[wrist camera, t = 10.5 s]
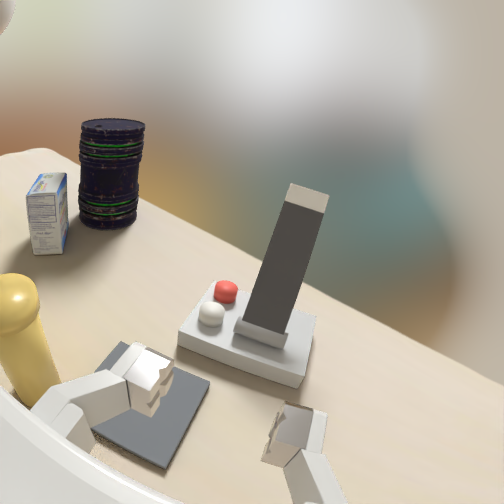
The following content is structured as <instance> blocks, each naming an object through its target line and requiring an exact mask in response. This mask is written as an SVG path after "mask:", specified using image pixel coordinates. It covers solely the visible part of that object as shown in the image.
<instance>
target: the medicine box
mask: <svg viewBox="0 0 504 504" xmlns="http://www.w3.org/2000/svg"><path fill="white" fill-rule="evenodd" d="M26 206H27V215H28V223H29V231H30V238H31V244H32V249H33V254H34V255H49V254H62V253H63V248H64V244H65V239H66V235H67V230H68V226H69V223H68V205H67V174H66V173H44V174H40V175H39V177H38V178H37V180H36V181H35V183H34V184H33V186H32V187H31V189H30V191H29V192H28V194H27V195H26Z"/></svg>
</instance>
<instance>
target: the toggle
mask: <svg viewBox="0 0 504 504" xmlns="http://www.w3.org/2000/svg"><path fill="white" fill-rule="evenodd" d="M328 198H329V195H326V194H323V193H320V192H317V191H314V190H311V189H308V188H305V187H302V186H299V185H295V184H292V183H291V184H290V187H289V190H288V193H287V195H286V198H285V201H284V204H283V207H282V210H281V212H280V215H279V218H278V221H277V224H276V227H275V229H274V232H273V235H272V238H271V241H270V243H269V246H268V249H267V252H266V255H265V257H264V260H263V263H262V266H261V268H260V271H259V274H258V277H257V279H256V282H255V285H254V288H253V291H252V293H251V296H250V299H249V301H248V304H247V307H246V310H245V312H244V315H243V317H240V316H239V317H238V319H237V321H236V323H235V326H234V330H233V332H234V333H237V334H239V335H242V336H245V337H248V338H250V339H253V340H256V341H259V342H262V343H265V344H267V345H270V346H273V347H276V348H279V349H282V350H283V348H284V346H285V343H286V341H287V338H288V334H289V333H286V332H285V330H286V327H287V324H288V321H289V319H290V316H291V313H292V310H293V307H294V304H295V301H296V299H297V296H298V293H299V290H300V287H301V284H302V281H303V278H304V275H305V272H306V269H307V266H308V263H309V260H310V256H311V253H312V250H313V247H314V244H315V241H316V238H317V234H318V231H319V228H320V225H321V221H322V218H323V215H324V212H325V208H326V205H327V201H328Z"/></svg>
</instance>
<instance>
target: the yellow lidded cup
mask: <svg viewBox="0 0 504 504" xmlns="http://www.w3.org/2000/svg"><path fill="white" fill-rule="evenodd" d="M39 308H40V302H39V298H38V293H37V289H36V286H35V284H34V282H33V281H32V280H31V279H30V278H28V277H26V276H24V275H21V274H16V273H7V274H2V275H0V363H1V365H2V367H3V369H4V371H5V373H6V375H7V377H8V379H9V380H10V382H11V384H12V386H13V387H14V389H15V391H16V393H17V394H18V396H19V398H20V399H21V401H22V402H23V403H24V404H26V405H27V406H29V407H31V408H32V407H33V406H34V405H35V404H36V403H37V402H38V400H39V399H40V398H41V397H42V396H43V395H44V394H45V392H46V391H47V390H48V389H49V388H50V387H51V386H54V385H58V384H61V380H60V377H59V375H58V372H57V369H56V367H55V364H54V361H53V358H52V356H51V353H50V350H49V347H48V344H47V341H46V337H45V334H44V331H43V328H42V324H41V321H40V317H39V314H38V312H39Z"/></svg>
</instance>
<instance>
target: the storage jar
mask: <svg viewBox="0 0 504 504" xmlns="http://www.w3.org/2000/svg"><path fill="white" fill-rule="evenodd" d="M81 129H82V133H81V140H80V144H79V148H80V154H79V160H80V162H81V175H80V184H79V189H78V192H79V195H78V204H79V210H80V213H79V218H80V221H81V223H82V224H84V225H85V226H87V227H89V228H92V229H97V230H116V229H121V228H124V227H127V226H129V225H131V224H132V223H133V222H134V221H135V220H136V217H137V212H136V210H137V204H138V197H139V195H138V191H139V184H138V170H139V162H140V161H141V158H142V150H143V145H144V141H143V139H144V134H143V132H144V131H145V124H144V123H142V122H139V121H135V120H128V119H115V118H113V119H112V118H108V119H107V118H105V119H93V120H88V121H85V122H83V123H82V125H81Z"/></svg>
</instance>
